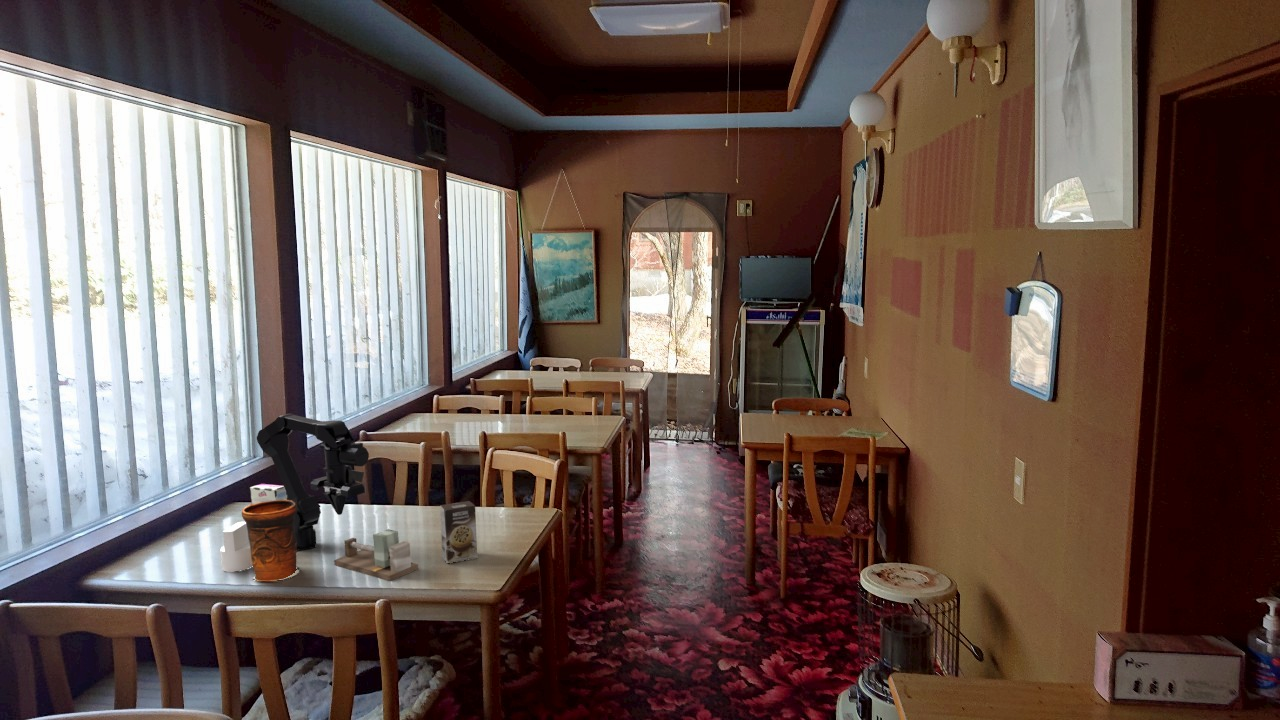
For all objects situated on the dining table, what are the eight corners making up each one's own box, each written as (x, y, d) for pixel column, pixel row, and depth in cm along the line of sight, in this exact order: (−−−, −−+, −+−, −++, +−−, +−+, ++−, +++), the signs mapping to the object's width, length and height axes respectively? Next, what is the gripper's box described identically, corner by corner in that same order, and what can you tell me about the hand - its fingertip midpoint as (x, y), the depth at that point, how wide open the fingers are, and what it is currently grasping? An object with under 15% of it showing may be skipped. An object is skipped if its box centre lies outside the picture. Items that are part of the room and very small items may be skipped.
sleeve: (375, 565, 228) (373, 534, 227) (390, 559, 233) (388, 529, 232) (384, 568, 226) (382, 537, 225) (399, 561, 231) (397, 531, 229)
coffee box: (447, 564, 233) (444, 510, 231) (442, 557, 239) (439, 504, 237) (478, 558, 237) (475, 505, 235) (472, 551, 243) (469, 499, 241)
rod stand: (334, 565, 235) (332, 536, 234) (363, 554, 243) (361, 526, 242) (390, 581, 222) (388, 551, 221) (418, 569, 230) (416, 540, 229)
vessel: (237, 585, 221) (231, 514, 219) (258, 567, 235) (254, 499, 233) (290, 583, 222) (286, 512, 220) (309, 565, 236) (305, 498, 234)
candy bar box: (291, 534, 263) (287, 485, 260) (279, 539, 258) (275, 489, 256) (265, 531, 267) (261, 482, 265) (253, 536, 262) (248, 486, 260)
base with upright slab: (232, 560, 240) (228, 521, 239) (262, 560, 240) (258, 521, 239) (215, 572, 231) (211, 532, 230) (246, 572, 231) (242, 531, 230)
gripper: (378, 461, 243) (382, 511, 245) (339, 454, 253) (342, 502, 255) (347, 469, 234) (351, 522, 236) (307, 462, 244) (311, 512, 246)
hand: (339, 514), depth 243 cm, fingers closed
